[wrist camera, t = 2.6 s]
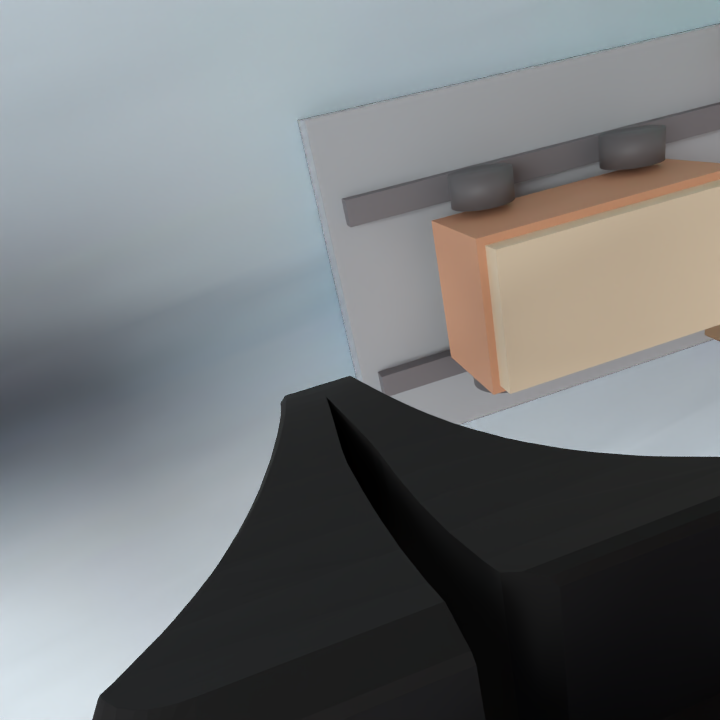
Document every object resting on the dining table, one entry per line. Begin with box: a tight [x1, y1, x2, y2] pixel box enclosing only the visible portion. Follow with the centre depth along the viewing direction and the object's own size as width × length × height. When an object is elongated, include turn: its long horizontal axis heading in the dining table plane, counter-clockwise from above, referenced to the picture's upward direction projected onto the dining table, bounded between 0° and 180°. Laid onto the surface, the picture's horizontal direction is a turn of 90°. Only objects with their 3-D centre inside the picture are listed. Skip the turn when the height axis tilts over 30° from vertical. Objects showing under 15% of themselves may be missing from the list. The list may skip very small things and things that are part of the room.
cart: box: [431, 125, 720, 395], centre depth 15 cm, size 6×7×4 cm
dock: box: [298, 24, 720, 425], centre depth 18 cm, size 10×21×3 cm, turn 102°
